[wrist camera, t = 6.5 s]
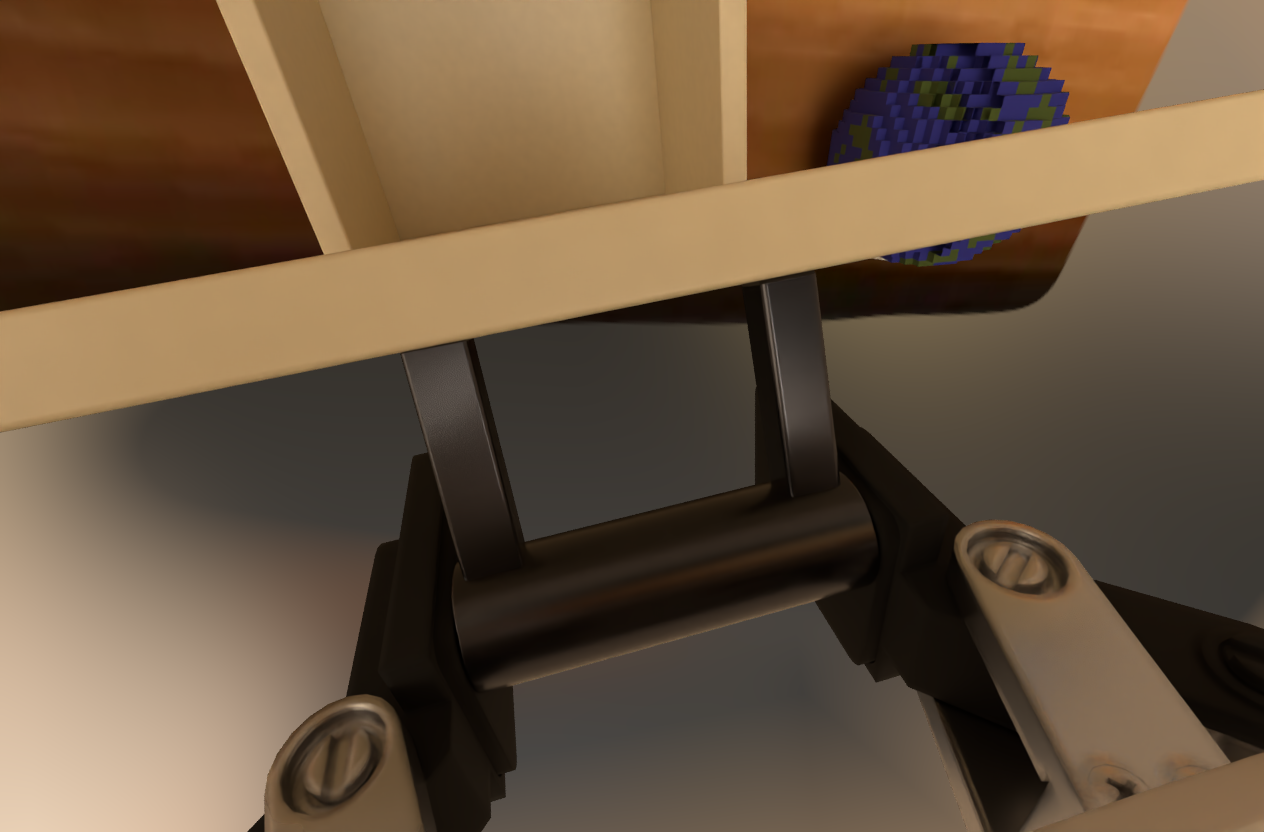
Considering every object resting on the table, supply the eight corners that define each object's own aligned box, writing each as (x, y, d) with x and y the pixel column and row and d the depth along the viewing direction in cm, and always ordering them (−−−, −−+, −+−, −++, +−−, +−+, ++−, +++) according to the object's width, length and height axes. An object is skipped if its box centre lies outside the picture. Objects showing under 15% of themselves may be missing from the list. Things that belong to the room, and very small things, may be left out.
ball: (928, 234, 29) (1055, 283, 22) (790, 244, 27) (884, 299, 21) (980, 45, 24) (1155, 41, 18) (819, 46, 23) (948, 41, 17)
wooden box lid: (-337, 368, 4) (0, 964, 5) (1295, 82, 5) (1269, 575, 6) (349, 324, 17) (395, 482, 18) (751, 247, 18) (772, 396, 19)
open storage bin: (237, -166, 16) (82, -310, 10) (652, -201, 18) (747, -345, 12) (389, 256, 23) (355, 331, 17) (678, 205, 25) (747, 255, 19)
